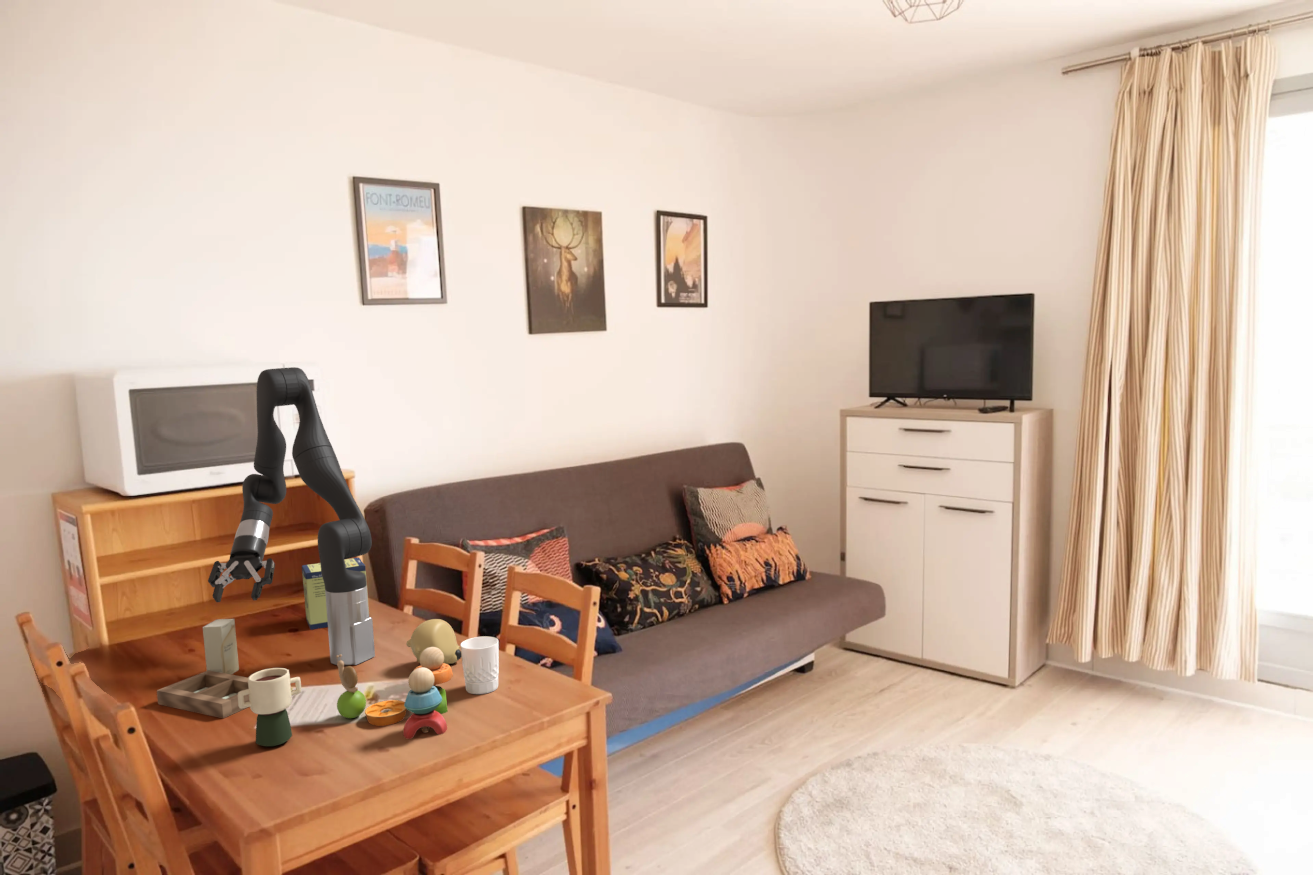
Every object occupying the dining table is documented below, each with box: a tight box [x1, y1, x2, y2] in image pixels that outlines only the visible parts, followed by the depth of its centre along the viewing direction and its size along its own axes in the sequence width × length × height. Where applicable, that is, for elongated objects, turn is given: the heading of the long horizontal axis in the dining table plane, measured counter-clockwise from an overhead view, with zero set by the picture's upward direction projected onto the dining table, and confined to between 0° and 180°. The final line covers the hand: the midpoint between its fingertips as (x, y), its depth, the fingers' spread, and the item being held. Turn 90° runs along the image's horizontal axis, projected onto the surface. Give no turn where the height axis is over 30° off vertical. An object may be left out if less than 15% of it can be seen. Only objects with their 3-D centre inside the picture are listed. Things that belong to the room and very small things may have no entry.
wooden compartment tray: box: [156, 670, 250, 719], centre depth 179 cm, size 20×12×3 cm, turn 65°
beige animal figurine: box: [406, 618, 462, 665], centre depth 196 cm, size 10×12×11 cm
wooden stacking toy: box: [364, 647, 454, 740], centre depth 165 cm, size 18×17×12 cm
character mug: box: [238, 667, 302, 747], centre depth 157 cm, size 11×7×13 cm, turn 128°
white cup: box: [459, 636, 500, 695], centre depth 180 cm, size 8×8×10 cm
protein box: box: [301, 557, 370, 631], centre depth 232 cm, size 10×16×16 cm
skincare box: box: [202, 618, 240, 675], centre depth 194 cm, size 6×4×12 cm
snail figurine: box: [336, 654, 367, 719], centre depth 168 cm, size 5×6×12 cm
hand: (235, 599), depth 203 cm, fingers open, 8 cm apart
